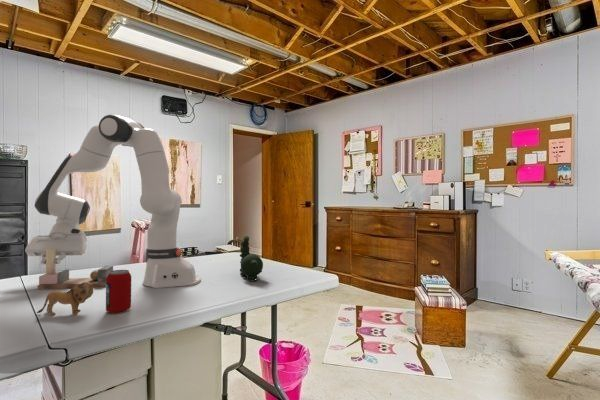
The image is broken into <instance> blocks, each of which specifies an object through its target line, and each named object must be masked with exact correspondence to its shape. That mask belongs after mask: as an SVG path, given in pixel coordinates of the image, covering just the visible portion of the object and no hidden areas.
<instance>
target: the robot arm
mask: <svg viewBox="0 0 600 400" xmlns="http://www.w3.org/2000/svg"><path fill="white" fill-rule="evenodd" d="M120 145H121V146H122V147H129V148H130V147H131V148H133V150H134V153H135V158H136V161H137V167H138V170H139V173H140V181H141V184H140V185H141V195H140V199H139V203H140V206H141V207H140V208H142V209H143V210H144V211H145V212H147V213H149V214H151V218H150V222H149V226H148V227H147V239H146V240H147V241H146V243H147V244H146V249H145V263H146V264H145V271H144V277H143V280H142V283H141V284H142V285H143V286H145V287H146V286H147V287H151V288H154V289H161V288H172V287H184V286H195V285H197V284H200V283H201V281H202V279H201V276H199V275H197V274H196V270H195V267H194V265H193V263H191V262H189V261H188V260H187V259H185V258H184V257H183V256H182V248H179V247H178V246H177V233H178V232H177V231H178V230H177V228H178V222H179V217H180V211H181V205H182V199H183V198H182V196H181V195H180V194H179V192H178V191H176V190H175V189H173V188H171V187H170V177H169V175H170V168H169V163H168V160H167V156H166V153H165V147H164V146H163V142H162V141H161V138H160V136H159V134H158V132H157V131H155V129H152V128H149V127H148V128H147V127H145V126H143V125H142V124H141V123H139V122H136V121H134V120H132V119H130V118H128V117H125V116H121V115H118V114H106V115H104V116H103V117H102V118H101V119H100V121H99V122H98V125H94V126H92V127H91V128H90V129H89V130H88V132H87V134H86V135H85V137H84V139H83V141H82V143H81V145H80V148H79V149H78V151H77V152H76V153H74V154H73V155H68V156H67V157H66V158H64V159H63V160H62V162H61V164H60V165H59V166H58V168H57V169H56V171H55V172H54V174H53V175H52V177H51V178H50V180H49V181H48V183H47V184H46V186H44V189H43V190H42V191H41V192H40V193H39V194H38V195H37V197H36V198H35V200H34V208H35V209H36V211H37V212H38V213H39V214H41V215H46V216H47V215H48V216H53V217H56V219H55V224H53V225H52V227H51V230H50V232H49V233H48V234H46V235H36V236H34V237H32V238H31V240H30V241H29V243H27V246H26V247H25V249H24V252H25V253H26V255H27V256H28V257H41V260H40V264H41V265H46V248H56V258H55V260H54V264H56V265H60V263H61V262H62V261H63V260H64V259H65V258H66V257H67V256H83V255H84V254H86V253H85V252H86V251H87V242H88V239H87V235H86V233H85V232H84V230H83V229H79V227H80V226H81V225H82V224H84V223H85V222H86V220H87V217H88V215H89V213H90V211H91V206H90V204H89V202H88V201H87V200H85V199H83V198H80V197H76V196H72V195H68V194H66V193H62V192H59V191H58V190H59V189H60V187H61V185H62V183H63V182H64V180H65V179H66V177H67V176H68V175H70V174H74V173H95V172H99V171H102V170H104V168H106V166H107V165H108V163H109V161H110V159H111V157H112V154H113V151H114V149H115V148H116V147H117V146H120ZM57 256H58V257H57Z"/></svg>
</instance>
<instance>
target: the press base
mask: <svg viewBox="0 0 600 400" xmlns="http://www.w3.org/2000/svg"><path fill="white" fill-rule="evenodd" d="M110 271H114V265H104V266H102V267H100V268H99V269H96V270H93V271H91V272H90V274H89V276H90V277H81V278H80V277H79V278H78V277H77V278H74V277H73V278H69V279H68V280H66V281H64V282H62V283H58V284H39V283H38V284H37V286H36V287H37V290H52V289H54V290H56V289H57V290H58V289H59V290H60V289H72V288H74V287H76V286H78V285H80V284H81V283H83V282H90V283H91V284H93V285H92V286H93V288H104V287H105V288H106V278H107V276H108V274H109V272H110Z"/></svg>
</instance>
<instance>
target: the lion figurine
mask: <svg viewBox="0 0 600 400" xmlns="http://www.w3.org/2000/svg"><path fill="white" fill-rule="evenodd" d="M92 285H93V284H91V283H90V282H83V283H81V284H80V285H78V286H76V287H74V288H70V290H68V291H62V290H51V291H50V292H49V293H48V294H47V295H46V298H45V300H44V301H45V302H44V304H43V306H42V307H41V309H39V310H38V311H37V312H36V314H40V313H42V312H43V311H44V310H45V308H46V312H47V313H49V315H50V316H56V312H54V311H53V308H54V305H55V304H57V303H59V304H61V305H70V306H71V313H72V315H73V316H77V315H78V314H79V313H80V312H81V309H79V306H80V304H83V303H85V302H86V300H88V299H90V298H91V297H92V296H93V294H94V287H93V286H92Z"/></svg>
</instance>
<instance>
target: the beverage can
mask: <svg viewBox="0 0 600 400" xmlns="http://www.w3.org/2000/svg"><path fill="white" fill-rule="evenodd" d="M131 307H132V274H131V273H130V271H129V269H115V270H114V269H113V271H110V272H109V274H108V276H107V278H106V287H105V312H108V313H109V314H114V315H115V314H122V313H125V312H127V311H128V310H130V309H131Z"/></svg>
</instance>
